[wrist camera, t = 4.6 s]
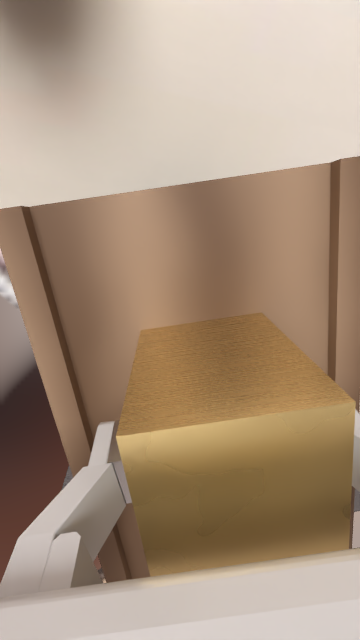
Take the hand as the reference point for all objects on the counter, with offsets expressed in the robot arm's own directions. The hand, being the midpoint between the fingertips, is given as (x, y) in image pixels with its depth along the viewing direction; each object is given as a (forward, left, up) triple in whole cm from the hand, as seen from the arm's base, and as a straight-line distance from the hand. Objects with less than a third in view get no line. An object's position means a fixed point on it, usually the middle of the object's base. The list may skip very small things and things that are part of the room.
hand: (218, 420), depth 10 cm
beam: (0, +8, -3) cm, 9 cm away
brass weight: (0, 0, -3) cm, 2 cm away
